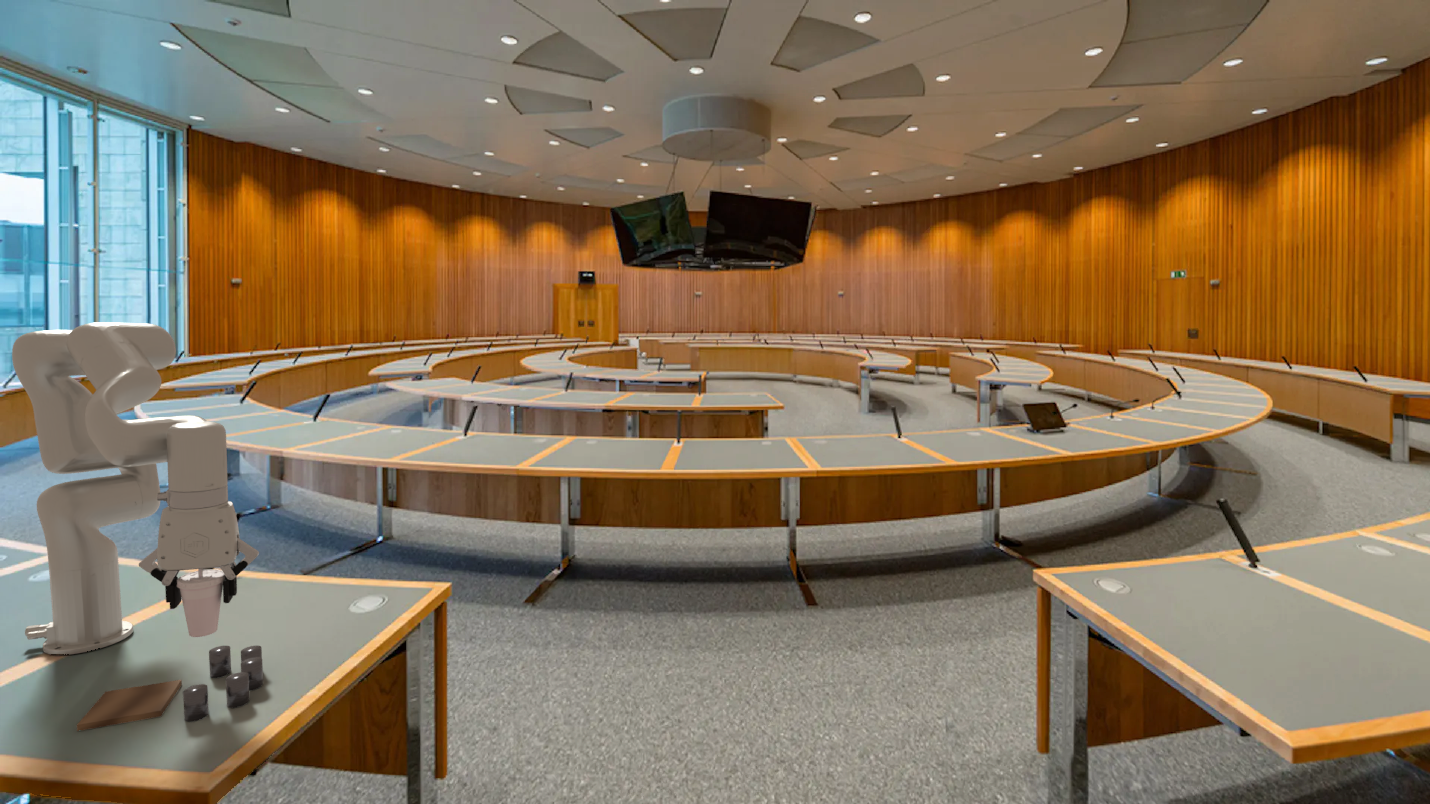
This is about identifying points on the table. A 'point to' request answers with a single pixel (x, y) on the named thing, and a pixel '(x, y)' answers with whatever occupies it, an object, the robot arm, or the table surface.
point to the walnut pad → (130, 705)
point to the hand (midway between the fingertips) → (202, 601)
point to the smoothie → (201, 600)
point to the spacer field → (235, 683)
